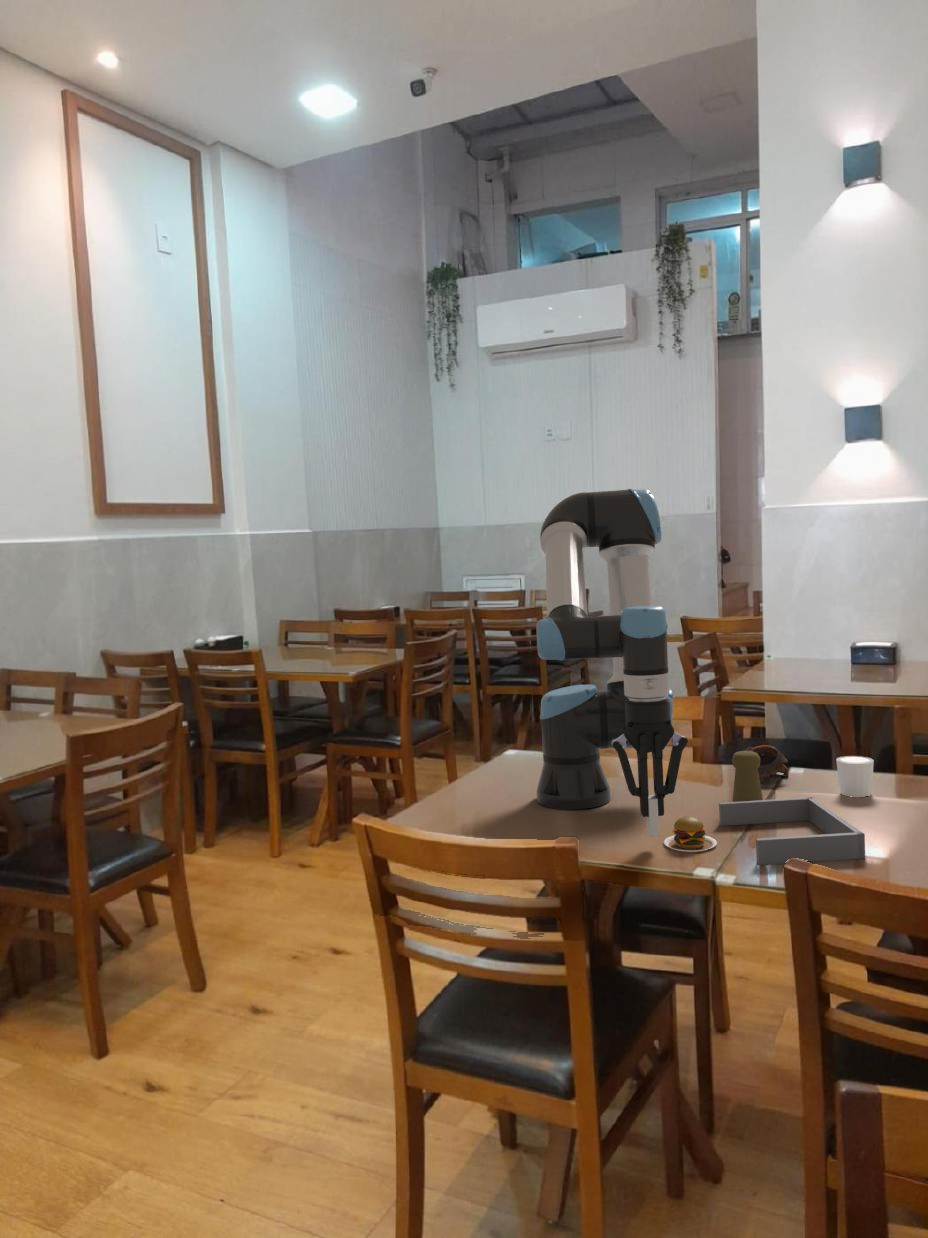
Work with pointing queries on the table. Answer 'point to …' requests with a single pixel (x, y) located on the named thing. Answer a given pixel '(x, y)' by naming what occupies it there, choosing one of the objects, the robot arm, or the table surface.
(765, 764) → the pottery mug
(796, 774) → the table surface
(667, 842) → the hamburger
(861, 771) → the white cup
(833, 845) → the box
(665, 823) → the table surface
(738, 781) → the olive green pepper shaker
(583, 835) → the table surface
